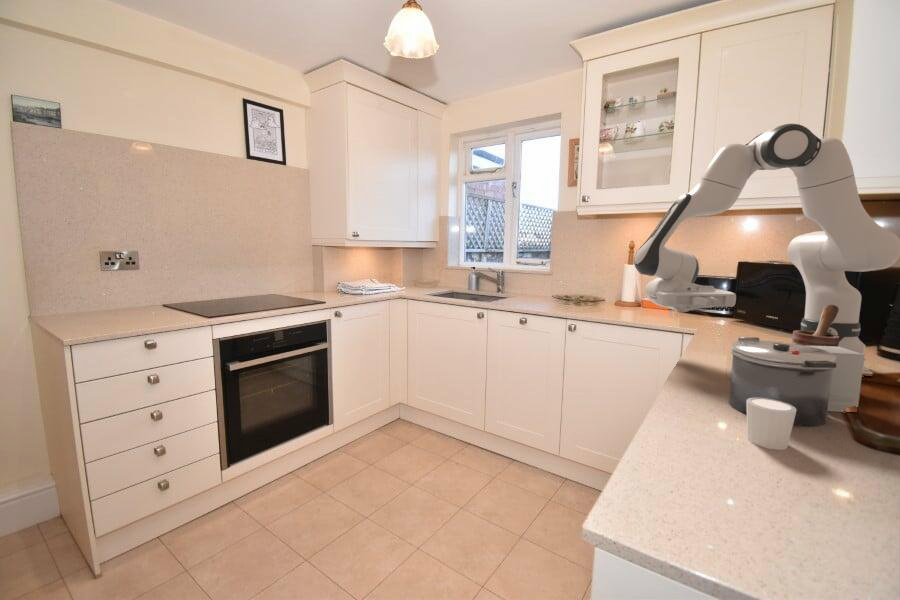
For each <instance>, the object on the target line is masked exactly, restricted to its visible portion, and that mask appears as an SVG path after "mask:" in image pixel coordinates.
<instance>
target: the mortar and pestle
mask: <svg viewBox="0 0 900 600" xmlns="http://www.w3.org/2000/svg"><path fill="white" fill-rule="evenodd" d="M838 310H839V308H838V307H837V306H835V305H826V306H825V307H824V308H823V310H822V313H821V317H820V321H819V324H818V327H817V330H816V331H804V330H801V329H799V330H798V329H797V330H793V331H792V338H791V340H792V342H791V344H797V345H803V346H834V347H838V345H839V336H837V335H833V334H829V333H828V329H829V327H830V326H831V323H832V322H833V321H834V319H835V318H836V316H837V313H838Z"/></svg>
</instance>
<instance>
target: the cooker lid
mask: <svg viewBox="0 0 900 600" xmlns="http://www.w3.org/2000/svg"><path fill="white" fill-rule="evenodd" d="M731 344H732V345H731V351H732V350H733V351H735V352H737V353H739V354H742V355H745V356H749V357H752V358H757V359H761V360H767V361H772V362H779V363H786V364H796V365H807V366H811V367H814V368H836V364H837V363H835V362H836V355H834V354H833V353H830V352H828V351H825V350H821V349H817V348H813V347H808V346H803V345H797V344H792V342H791V343H789V342H781V341H771V340H770V341H769V340H761V339H760V337H756V336H755V337H753V336H752V337H750V336H749V337H748V336H747V337H742V336H741V337H738V341H737V340H736V341H733V342H732V343H731Z"/></svg>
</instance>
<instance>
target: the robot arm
mask: <svg viewBox="0 0 900 600" xmlns="http://www.w3.org/2000/svg"><path fill="white" fill-rule="evenodd" d="M786 168H788V169H790V170H791V171H792V172H793V174H794V176H795V177H796V184H797V190H798V195H799V199H800V204H801V209H802V213H803V215H804V216H805V217H806V219H809V220H810V221H813V222H814V223H816V224H817V225H818V226H819V227H820V228H821V229H822V231H821V230H820V231H811V232H808V233H804V234H799V235H797V236H795V237H794V238H792V239H791V241H790V242H789V244H788V246H787V249H786V254H787V258H788V260H789V262H790V263H791V264H792V265H794V267H795V268H797V270H798V271H799V273H800V275H801V277H802V281H803V283H804V287H805V307H804V317H802V319H801V322H800V330H804V331H816V330H817V327H818V324H819V321H820V317H821V313H822V310H823V308H824V307H825V306H826V305H835V306H837V307H838V308H839V310H838V313H837V316H836V318H835V319H834V321H833V322H832V323H831V326H830V327H829V329H828V333H829V334H833V335H837V336H839V345H838V347H841V348H844V349H848V350H851V351H854V352H858V353H861V354H864V362H863V370H862V373H869V374H873V375H874V373H873V371H871V370H870V369H869V368H867V367H866V366H865V361H866V359H865V356H866V344H864V343H863V341H861V340H860V338H859V336H860V332H861V323H860V314H861V313H860V312H861V307H862V306H861V305H862V294H861V292H860V291H859V290H858V289H857V288H855V287H854V286H853V285H852V284H850V283H849V281H848V279H847V277H846V273H845V272H857V273H858V272H860V273H861V272H862V273H863V272H865V273H866V272H871V271H872V272H873V271H880V270H884V269H888V268H890V267H892V266H893V265H894V264H895V263H897V261H898V260H899V259H900V238H899V236H897V234H895V233H894V232H891V231H889V230H887V229H885V228H884V227H882V226H881V225H879V224H878V223H877V222H876V221H875V220H874V219H873V218H872V217H871V216H870V214H869V213H868V212H867V211H866V209H865V207H864V205H863V204H862V201H861V198H860V196H859V191H858V186H857V182H856V177H855V173H854V172H855V171H854V168H853V164H852V160H851V158H850V154H849V153H848V151H847V148H846V147H845V144H844V143H843V141H842V140H840V139H839V138H835V137H826V138H825V137H824V138H819V137H818V136H817V135H815V134H814V133H813V132H812V131H811V130H810V129H809V128H808V127H806V126H804V125H801V124H800V123H799V124H798V123H785V124H783V125H777V126H775V127H771V128H769V129H767V130H766V131H764V132H762V133H759V134H758V135H757V136H755V137H754V138H752V139H751V140H750V141H749V142H747V143H746V144H743V143H742V144H741V143H731V144H726V145H724V146H723V147H721V148H720V149H719V150H718V151H717V153H716V154H715V155H714V156H713V158H712V159H711V160H710V162H709V164H708V165H707V166H706V168H705V170H704V172H703V173H702V175H701V177H700V179H699V181H698V183H697V184H696V185H695V187H693V189H691V190H690V191H689V192H687V193H685V194H682V195H680V196H679V197H677V199H676V200H675V201H674V202H673V203H672V205H671V206H670V208H669V209H668V210H667V211H666V213H665V214H664V216H663V217H662V218H661V220H660V221H659V222H658V224H657V225H656V226H655V228H654V229H653V231H652V233H651V234H650V235H649V237H648V238H647V239H646V240H645V241H644V242H643V244H642V245H641V246H640V247H639V248H638V249H637V251H636V253H635V255H634V257H633V264H634V267H635V269H636V270H637V272H638V274H640V275H644V276H649V277H655V278H654V279H653V280H651V281H649V282H648V283H647V284H646V286H645V291H644V293H645V296H646V297H647V299H648V300H649V301H650V302H651V303H652V304H655V305H656V306H659V307H663V308H668V309H670V310H674V311H678V312H681V313H682V312H683V313H686V312H689V311H694V310H700V309H708V308H710V309H711V308H713V307H731V308H733V307H735V305H736V303H737V302H736V301H737V295H736V293H735V292H732V291H728V290H725V289H720V288H715V286H713V285H707V284H705V285H704V284H697V283H695V282H696V280H697V278H698V275H699V273H700V272H699V270H700V267H699V262H698V259H697V258H696V256H695V255H694V254H691V253H687V252H685V251H681V250H676V249H673V248H669V247H667V246H665V245H666V244H667V243H668V241H669V239H670V238H671V237H672V236H673V234H674V232H675V231H676V230H677V229H678V227H679V226H680V225H681V224H682V223H683V222H685V221H686V220H689V219H691V218H695V217H707V216H708V217H709V216H715V215H718V214H719V215H720V214H722V213H724V212H726V211H729V209H731V208H732V207H733V206H734V204H735V203H736V202H737V200H738V198H739V197H740V195H741V193H742V191H743V190H744V187H745V185H746V184H747V181H748V179H750V177H751V176H752V175H753V174H754V173H755V172H756V171H758V170H759V171H760V170H761V171H764V170H765V171H767V170H768V171H769V170H770V171H773V170H774V171H776V170H780V169H786Z"/></svg>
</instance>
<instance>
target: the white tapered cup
mask: <svg viewBox="0 0 900 600" xmlns="http://www.w3.org/2000/svg"><path fill="white" fill-rule="evenodd" d="M746 402H747V415H746V436H747V441H750V442H751V443H752V444H754V445H756V446H759V447H762V448H766V449H769V450H770V449H771V450H774V451H775V450H777V451H778V450H780V451H782V450H786V449H787V448H788V447H789V443H790V438H791V435H792V430H793V427H794V426H793V423H794V419H795V414H796V408H795V407H794V406H792V405H790V404H787V403H784V402H781V401H777V400H773V399H767V398H749V399H747V400H746Z"/></svg>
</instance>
